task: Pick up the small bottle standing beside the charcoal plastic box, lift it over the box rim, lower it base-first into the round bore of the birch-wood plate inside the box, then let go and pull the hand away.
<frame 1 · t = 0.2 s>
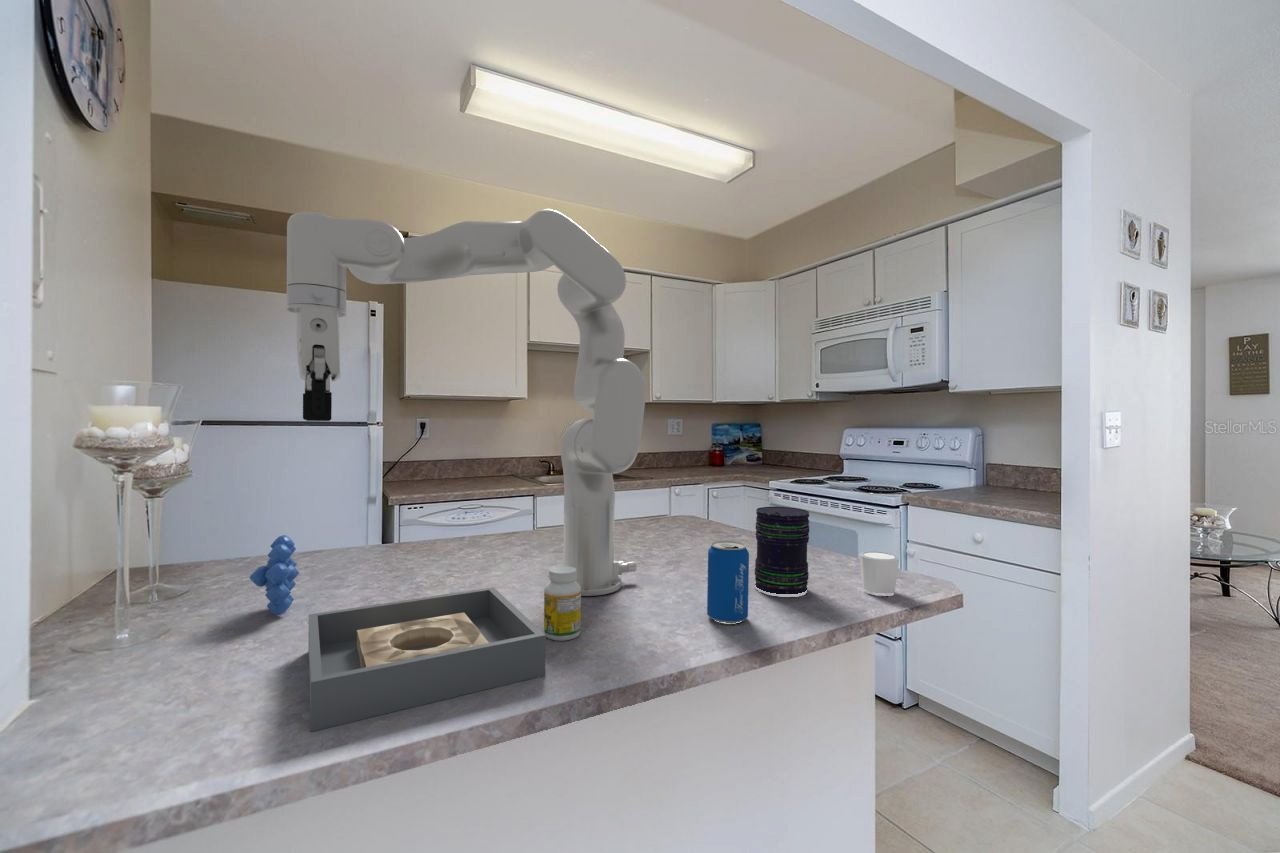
hand: (316, 420, 81), 31 cm above the countertop, tool pointing down, fingers open, 9 cm apart
storage jar: (780, 590, 105), on the countertop
white short cylinder: (878, 593, 104), on the countertop
open box: (422, 662, 72), on the countertop
bore plate: (422, 656, 72), resting on open box
grapes: (274, 612, 90), on the countertop
beverage can: (727, 620, 89), on the countertop
supplement bottle: (562, 635, 82), on the countertop
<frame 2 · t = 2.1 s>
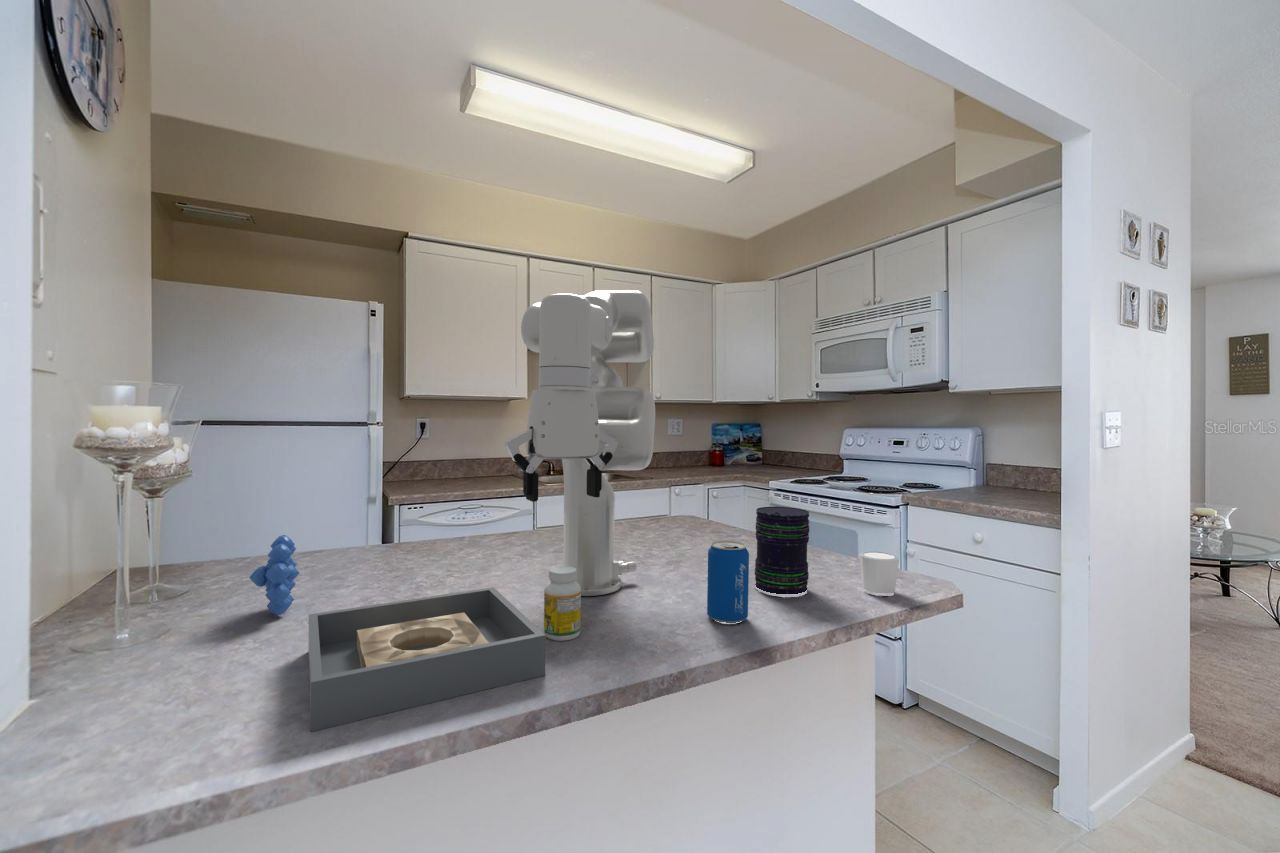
hand: (563, 498, 82), 20 cm above the countertop, tool pointing down, fingers open, 9 cm apart
nothing on the countertop moved.
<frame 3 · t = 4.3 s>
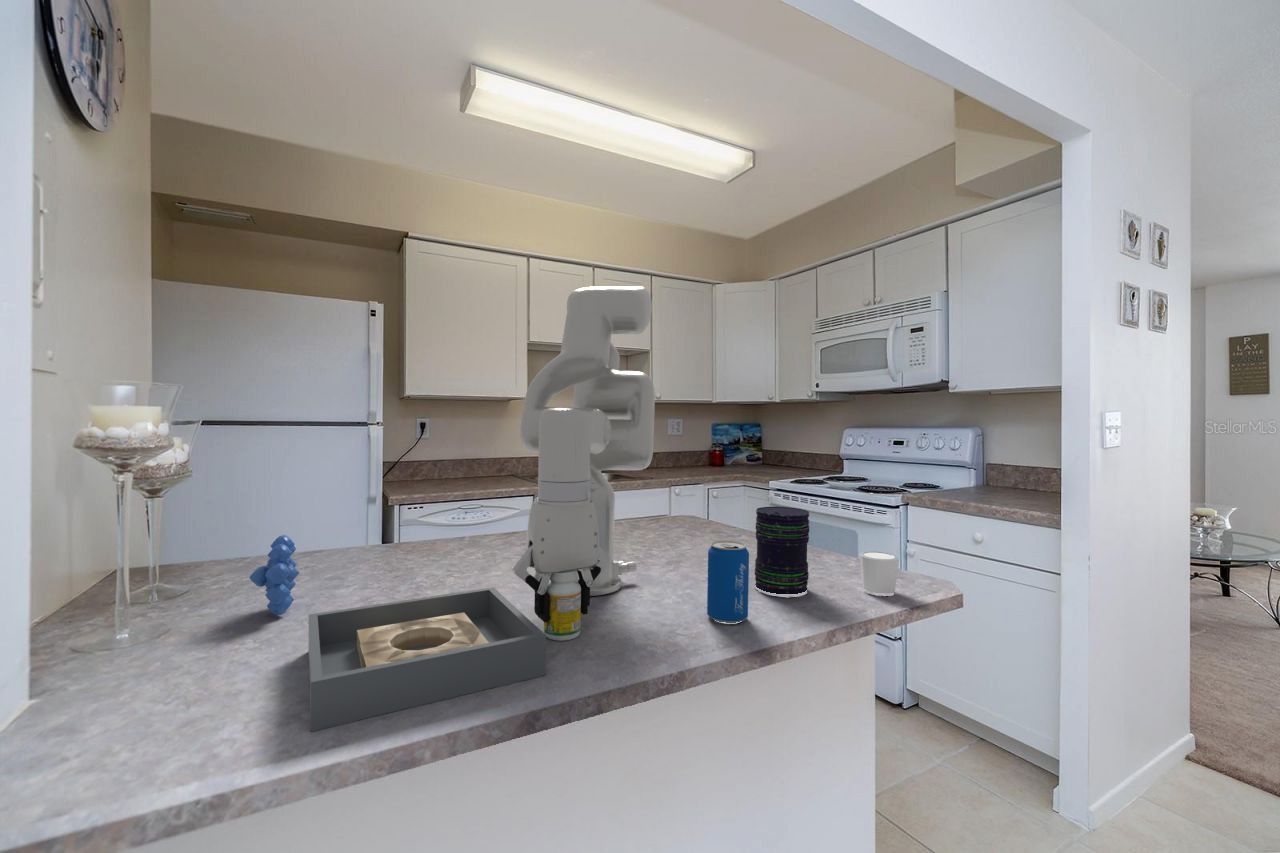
hand: (562, 614, 82), 3 cm above the countertop, tool pointing down, fingers closed on supplement bottle, 5 cm apart
supplement bottle: (562, 635, 82), on the countertop, touching gripper
everything else where it was.
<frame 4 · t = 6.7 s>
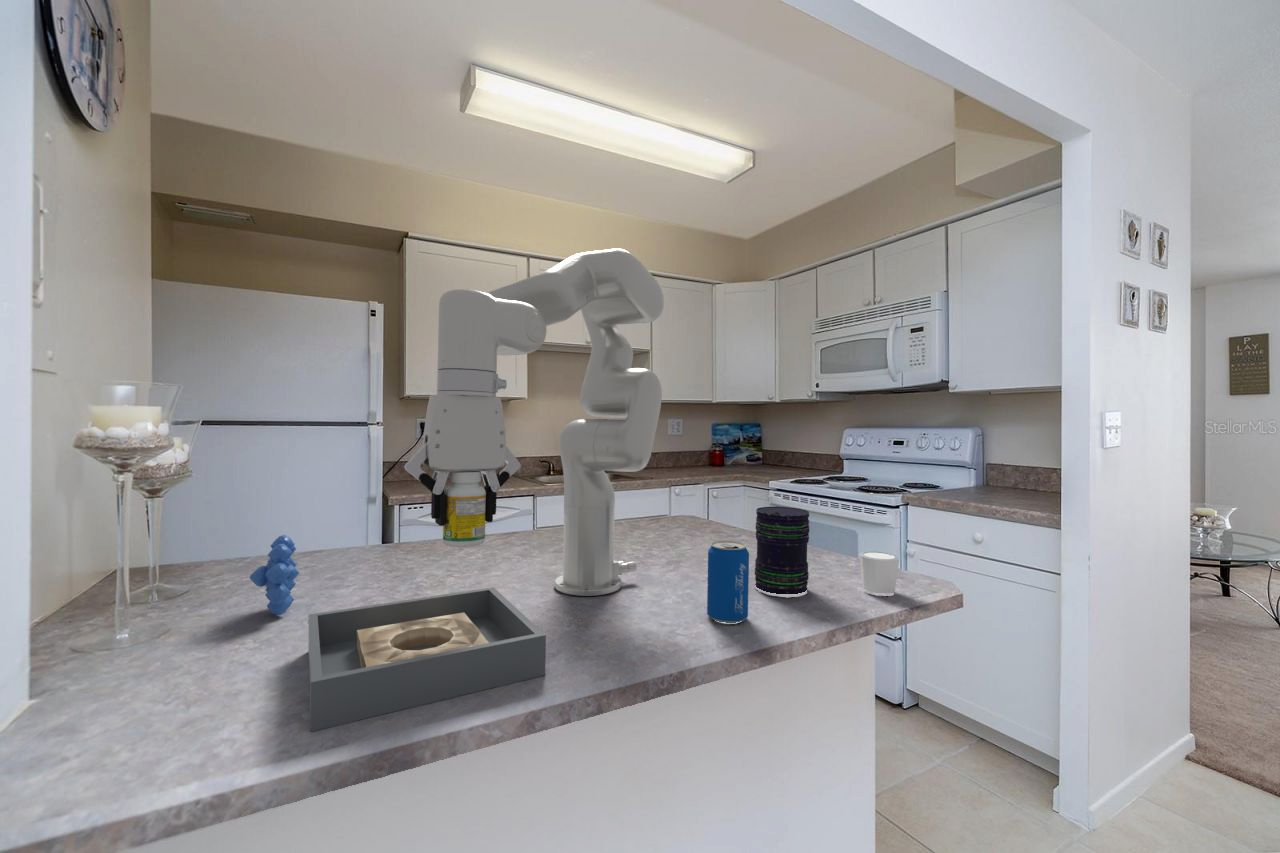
hand: (464, 520, 74), 18 cm above the countertop, tool pointing down, fingers closed on supplement bottle, 5 cm apart
supplement bottle: (463, 545, 74), point 15 cm above the countertop, touching gripper
everything else where it was.
when the fingers open (5 cm above the countertop, at t = 9.5 s): supplement bottle stays where it is, resting on open box.
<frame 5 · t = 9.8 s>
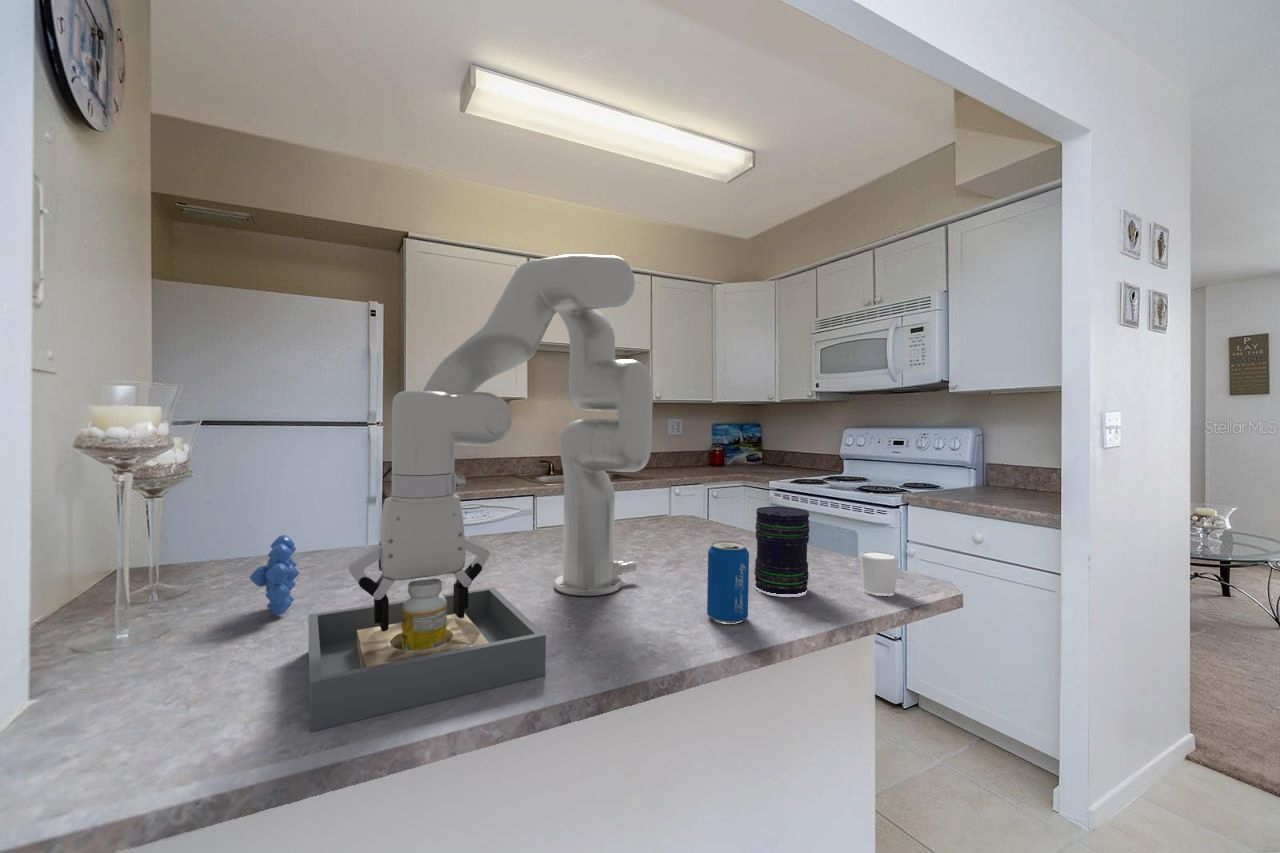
hand: (422, 620, 72), 5 cm above the countertop, tool pointing down, fingers open, 8 cm apart
supplement bottle: (424, 657, 72), point 1 cm above the countertop, touching open box
everything else where it was.
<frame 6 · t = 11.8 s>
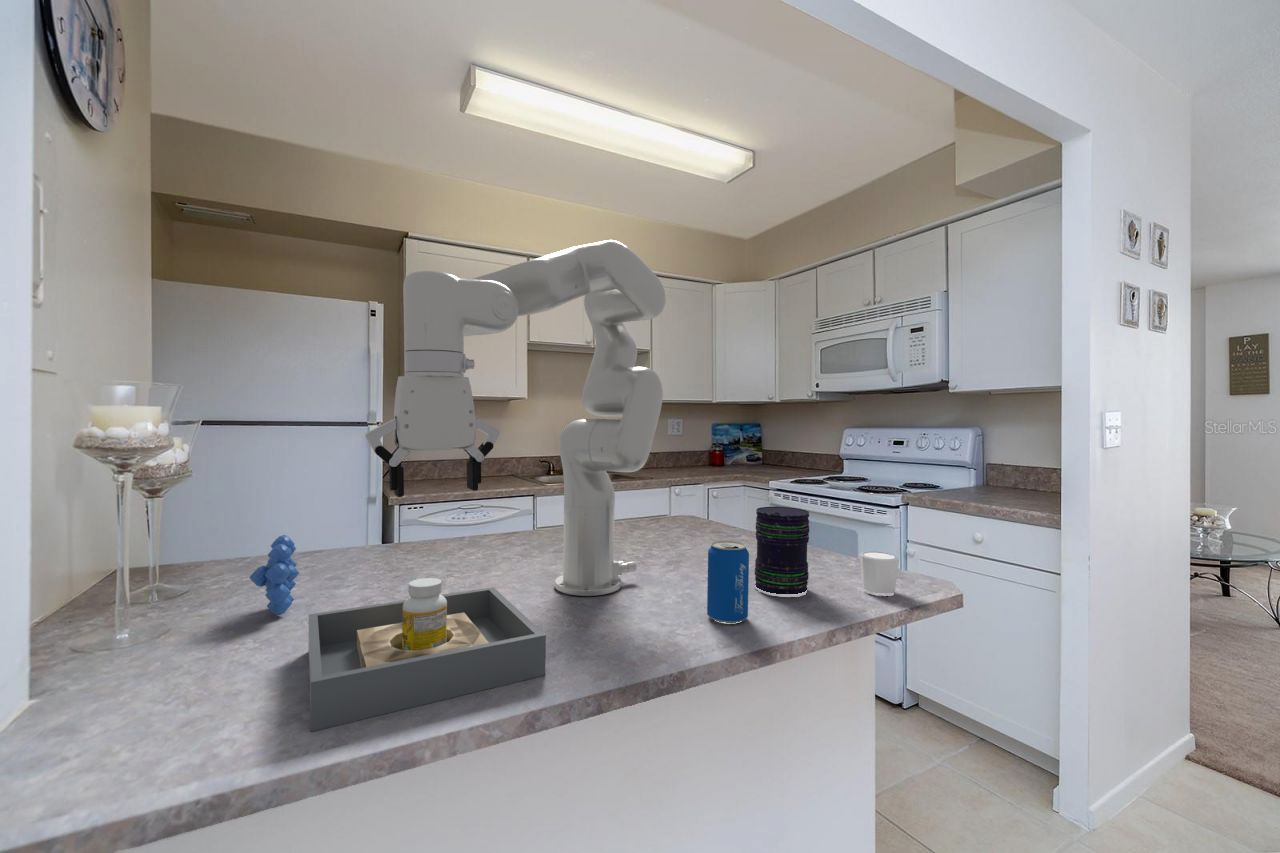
hand: (437, 492, 76), 21 cm above the countertop, tool pointing down, fingers open, 9 cm apart
nothing on the countertop moved.
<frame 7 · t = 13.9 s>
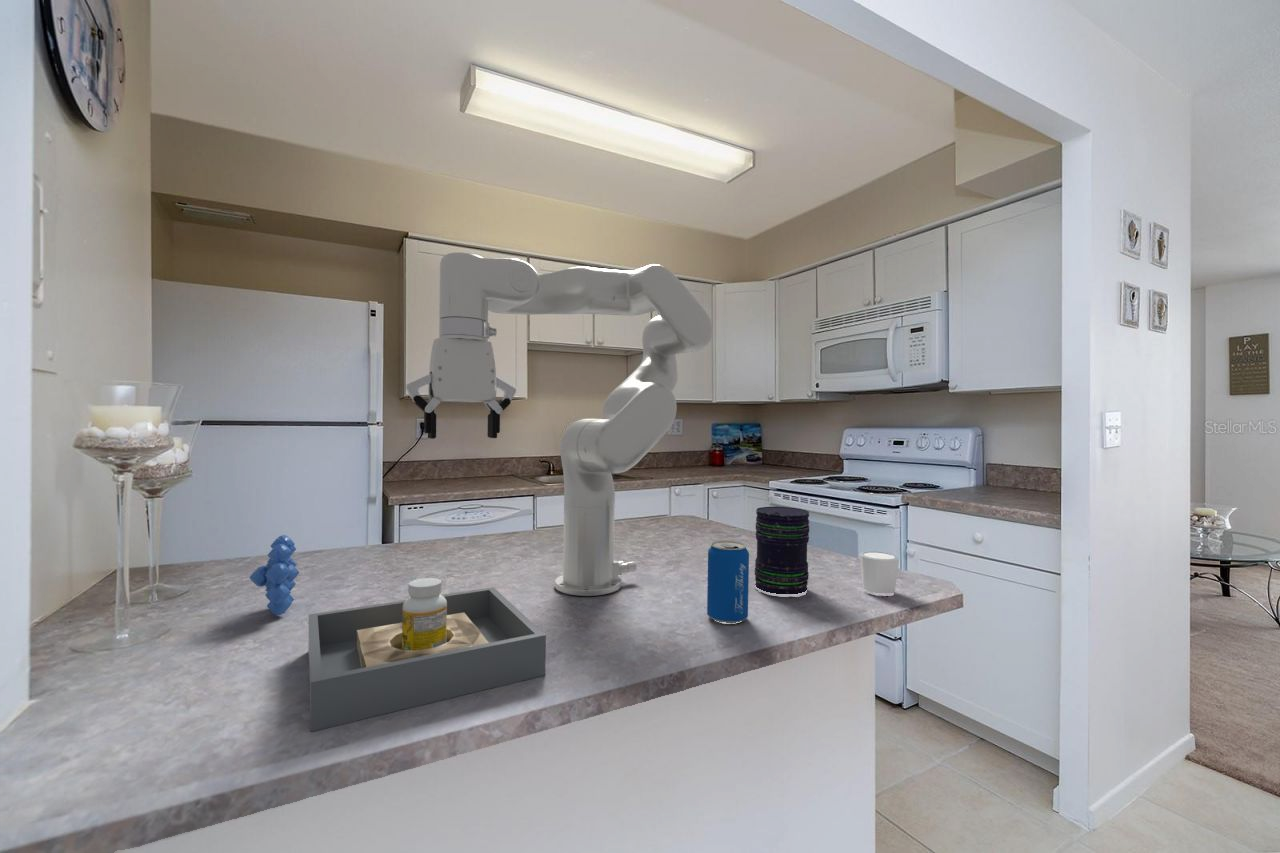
hand: (462, 438, 91), 28 cm above the countertop, tool pointing down, fingers open, 9 cm apart
nothing on the countertop moved.
at the end: supplement bottle 0.3 cm off-centre on the bore plate, point 0.0 cm above the bore plate's base; supplement bottle tilted 0°; the gripper is holding nothing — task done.
